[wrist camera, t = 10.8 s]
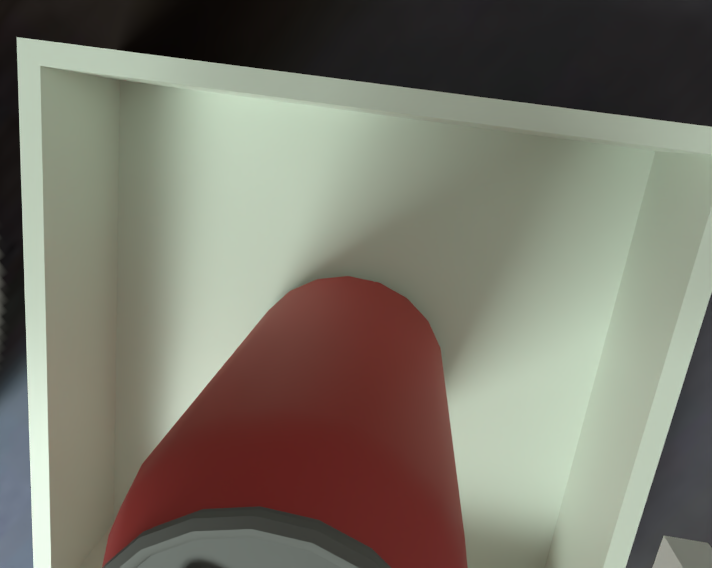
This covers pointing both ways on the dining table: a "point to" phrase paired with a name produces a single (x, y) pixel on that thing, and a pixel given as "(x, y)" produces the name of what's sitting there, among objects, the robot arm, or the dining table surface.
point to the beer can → (307, 448)
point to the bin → (360, 260)
